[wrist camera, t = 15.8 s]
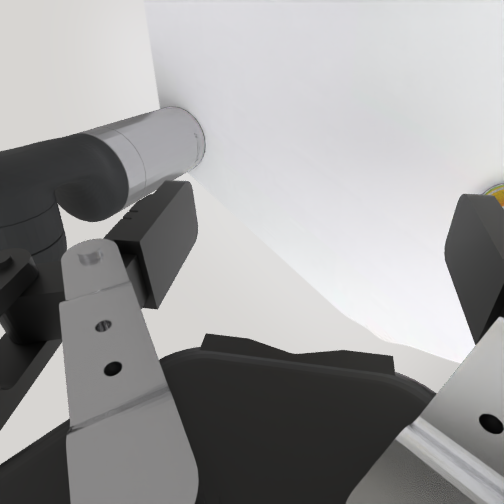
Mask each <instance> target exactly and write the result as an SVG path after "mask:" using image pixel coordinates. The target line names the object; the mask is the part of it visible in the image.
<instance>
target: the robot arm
mask: <svg viewBox="0 0 504 504" xmlns="http://www.w3.org/2000/svg"><path fill="white" fill-rule="evenodd" d="M204 150H205V140H204V135H203V132H202V130H201V127H200V125H199V124H198V122H197V121H196V119H195V118H194V117H193V116H192V115H191V114H189V113H188V112H187V111H185V110H183V109H181V108H177V107H166V108H163V109H159V110H156V111H153V112H149V113H145V114H142V115H138V116H135V117H132V118H128V119H125V120H121V121H118V122H114V123H111V124H107V125H104V126H100V127H97V128H94V129H91V130H88V131H84V132H80V133H77V134H73V135H70V136H66V137H62V138H57V139H51V140H46V141H42V142H38V143H33V144H30V145H26V146H23V147H18V148H14V149H10V150H5V151H1V152H0V324H1V325H2V327H3V328H4V330H5V332H6V333H5V334H4V335H3V337H2V338H1V339H0V430H1V429H2V427H3V426H4V425H5V423H6V422H7V420H8V419H9V417H10V416H11V414H12V413H13V412H14V410H15V409H16V407H17V406H18V404H19V403H20V402H21V400H22V399H23V397H24V396H25V394H26V393H27V391H28V390H29V389H30V387H31V386H32V384H33V383H34V381H35V380H36V379H37V377H38V376H39V374H40V373H41V371H42V370H43V368H44V367H45V366H46V364H47V363H48V361H49V360H50V358H51V357H52V356H53V354H54V353H55V351H56V350H57V348H58V347H59V346H60V344H61V343H62V342H63V353H64V363H65V374H66V383H67V384H66V385H67V394H68V404H69V416H70V419H68V420H67V421H65V422H64V423H62V424H61V425H59V426H58V427H56V428H55V429H53V430H52V431H50V432H49V433H47V434H46V435H44V436H43V437H41V438H40V439H39V440H37V441H35V442H34V443H32V444H31V445H29V446H28V447H26V448H25V449H23V450H22V451H20V452H19V453H17V454H16V455H14V456H13V457H11V458H10V459H8V460H7V461H5V462H4V463H2V464H1V465H0V504H504V209H503V208H502V206H501V205H500V203H499V202H498V200H497V199H496V197H495V196H493V195H478V194H463V195H461V197H460V198H459V200H458V203H457V206H456V210H455V213H454V216H453V219H452V223H451V226H450V229H449V233H448V236H447V239H446V243H445V261H446V264H447V267H448V270H449V273H450V275H451V278H452V281H453V284H454V287H455V289H456V292H457V295H458V298H459V301H460V303H461V306H462V309H463V312H464V314H465V317H466V320H467V323H468V326H469V328H470V331H471V334H472V337H473V340H474V342H475V345H476V346H475V347H474V348H473V350H472V351H471V352H470V353H469V355H468V356H467V357H466V358H465V360H464V361H463V362H462V363H461V365H460V366H459V367H458V368H457V370H456V371H455V372H454V373H453V375H452V376H451V377H450V378H449V380H448V381H447V382H446V383H445V384H444V386H443V387H442V388H441V389H440V391H439V392H438V393H435V392H434V391H432V390H430V389H429V388H427V387H426V386H425V385H423V384H421V383H419V382H417V381H416V380H414V379H411V378H409V377H407V376H405V375H403V374H400V373H397V372H395V369H394V362H393V356H388V355H380V354H372V353H363V352H354V351H347V350H339V351H329V352H316V353H305V354H292V353H288V352H286V351H283V350H280V349H277V348H274V347H271V346H268V345H265V344H263V343H259V342H257V341H254V340H251V339H247V338H239V337H230V336H222V335H214V334H206V335H205V337H204V340H203V342H202V345H201V347H196V348H191V349H186V350H182V351H179V352H175V353H173V354H170V355H168V356H165V357H164V358H162V359H160V360H158V357H157V354H156V351H155V348H154V345H153V343H152V340H151V337H150V334H149V331H148V329H147V326H146V323H145V320H144V317H143V314H142V312H141V309H142V308H150V309H158V308H159V306H160V304H161V302H162V300H163V299H164V297H165V295H166V293H167V292H168V290H169V288H170V286H171V285H172V283H173V281H174V279H175V277H176V276H177V274H178V272H179V270H180V268H181V267H182V265H183V263H184V261H185V260H186V258H187V256H188V254H189V252H190V251H191V249H192V247H193V245H194V243H195V242H196V239H197V234H198V222H197V216H196V209H195V203H194V196H193V190H192V186H191V184H190V182H188V181H172V180H174V179H176V178H177V177H179V176H181V175H183V174H184V173H186V172H188V171H189V170H191V169H193V168H195V167H196V166H197V165H198V164H199V163H200V161H201V160H202V158H203V155H204ZM155 190H157V191H156V192H155V193H154V194H150V193H152V192H154V191H155ZM148 194H150V195H148ZM147 195H148V196H147ZM145 196H146V197H145ZM143 197H145V198H143ZM142 198H143V199H142ZM140 199H142V200H140ZM138 200H139V201H138ZM136 201H137V202H136ZM135 202H136V204H135V205H134V206H133V207H132V208H131V209H130V210H129V212H127V213H126V214H125V215H124V216H123V219H121V220H120V221H119V222H118V223H117V224H116V225H115V226H114V227H113V228H112V230H111V231H110V232H109V233H108V234H107V235H106V236H105V237H104V238H103V239H92V240H87V241H84V242H81V243H79V244H77V245H74V246H73V247H71V248H70V249H68V250H67V243H66V236H65V231H64V228H63V223H62V220H61V216H60V212H59V208H58V204H59V205H60V206H61V207H62V208H63V209H64V210H65V211H66V212H68V213H69V214H71V215H72V216H74V217H76V218H78V219H80V220H84V221H88V222H97V221H102V220H105V219H107V218H109V217H111V216H113V215H114V214H116V213H118V212H119V211H121V210H123V209H125V208H126V207H128V206H130V205H131V204H133V203H135ZM57 203H58V204H57Z"/></svg>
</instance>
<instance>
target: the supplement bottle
mask: <svg viewBox="0 0 504 504" xmlns="http://www.w3.org/2000/svg"><path fill="white" fill-rule="evenodd" d="M483 195H493V196H495V197H496V199H497V200H498V202H499V203H500V205H501V206H502V208H503V209H504V184H500V185H497V186H494V187H492V188H490V189H489V190H487V191H486V192H485V193H484V194H483Z"/></svg>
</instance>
